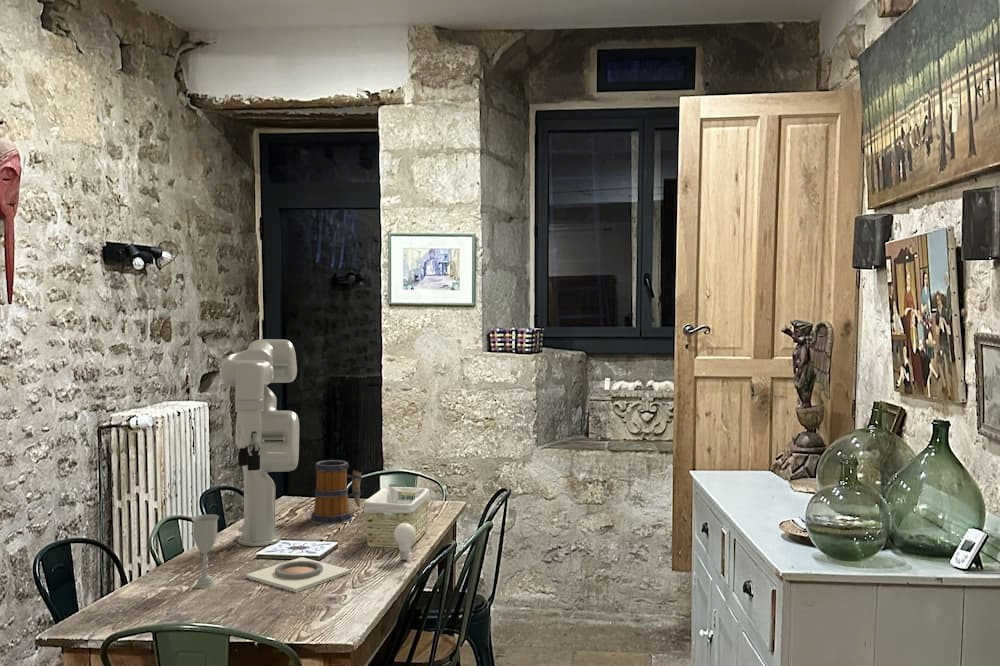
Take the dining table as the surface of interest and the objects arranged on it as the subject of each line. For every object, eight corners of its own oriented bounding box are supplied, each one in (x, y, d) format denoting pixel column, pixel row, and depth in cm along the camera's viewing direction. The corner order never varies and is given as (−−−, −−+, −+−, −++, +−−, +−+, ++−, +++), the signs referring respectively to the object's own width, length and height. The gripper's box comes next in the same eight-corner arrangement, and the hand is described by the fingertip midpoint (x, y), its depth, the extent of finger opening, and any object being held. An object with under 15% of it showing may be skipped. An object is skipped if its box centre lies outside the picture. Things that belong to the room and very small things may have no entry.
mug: (349, 510, 303) (350, 456, 302) (371, 517, 292) (372, 461, 292) (302, 518, 290) (303, 462, 289) (323, 526, 279) (324, 468, 279)
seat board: (245, 578, 224) (245, 570, 224) (301, 560, 240) (301, 553, 240) (296, 592, 213) (296, 584, 213) (351, 573, 229) (351, 565, 229)
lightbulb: (393, 557, 245) (394, 520, 244) (415, 557, 245) (415, 520, 245) (392, 563, 238) (393, 526, 238) (414, 563, 239) (415, 525, 239)
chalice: (209, 590, 214) (209, 521, 213) (185, 588, 215) (186, 520, 215) (224, 581, 221) (224, 515, 220) (201, 579, 222) (201, 513, 222)
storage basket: (411, 551, 251) (411, 503, 251) (360, 548, 254) (361, 501, 254) (431, 531, 275) (431, 487, 275) (384, 528, 278) (385, 485, 277)
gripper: (227, 404, 233) (227, 464, 233) (244, 408, 218) (243, 473, 218) (254, 403, 237) (253, 462, 237) (272, 407, 222) (271, 470, 222)
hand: (248, 467), depth 227 cm, fingers open, 9 cm apart
